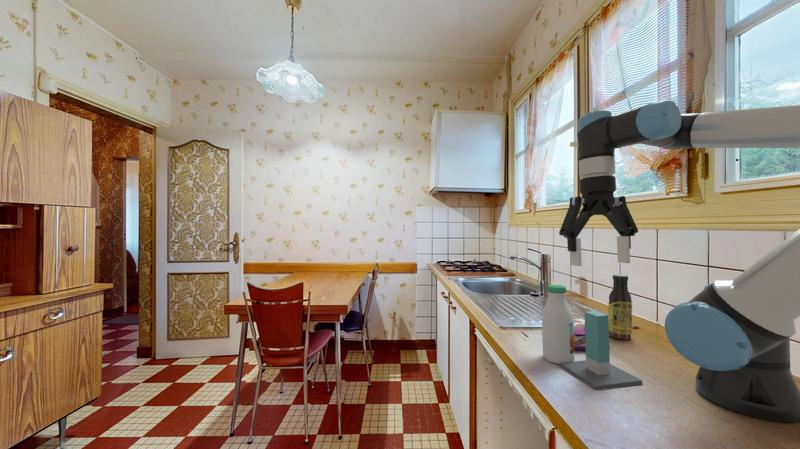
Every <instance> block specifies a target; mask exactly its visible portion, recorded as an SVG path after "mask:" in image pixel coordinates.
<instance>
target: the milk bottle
mask: <svg viewBox="0 0 800 449" xmlns="http://www.w3.org/2000/svg"><path fill="white" fill-rule="evenodd" d="M546 290H547V294H548V296H547V301H546V303H545V305H544V307H543V311H542V315H541V316H542V318H541V319H542V320H541V326H542V327H541V332H542V333H541V334H542V340H541V341H542V356H543V358H544V359H545V360H546V361H548V362H550V363H552V364H556V365H557V364H558V365H560V363H566V362H575V357H576V356H575V350H574V325H573V318H574V316H573V313H572V309H571V308H570V306H569V305H568V302H567V299H566V295H567V286H565V285H561V284H548V285H547V287H546Z"/></svg>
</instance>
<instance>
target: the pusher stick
mask: <svg viewBox="0 0 800 449" xmlns="http://www.w3.org/2000/svg"><path fill="white" fill-rule="evenodd" d="M584 319H585V345H586V351H585V360H586V368H587V369H589V370H590V371H592V372H594V373H595V374H597V375H599V376H600V375H608V374H610V364H611V363H610V362H611V358H610V351H609V347H610V335H609V322H608V314H605V313H604V312H603V313H602V312H599V311H597V310H591V311H584Z"/></svg>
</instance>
